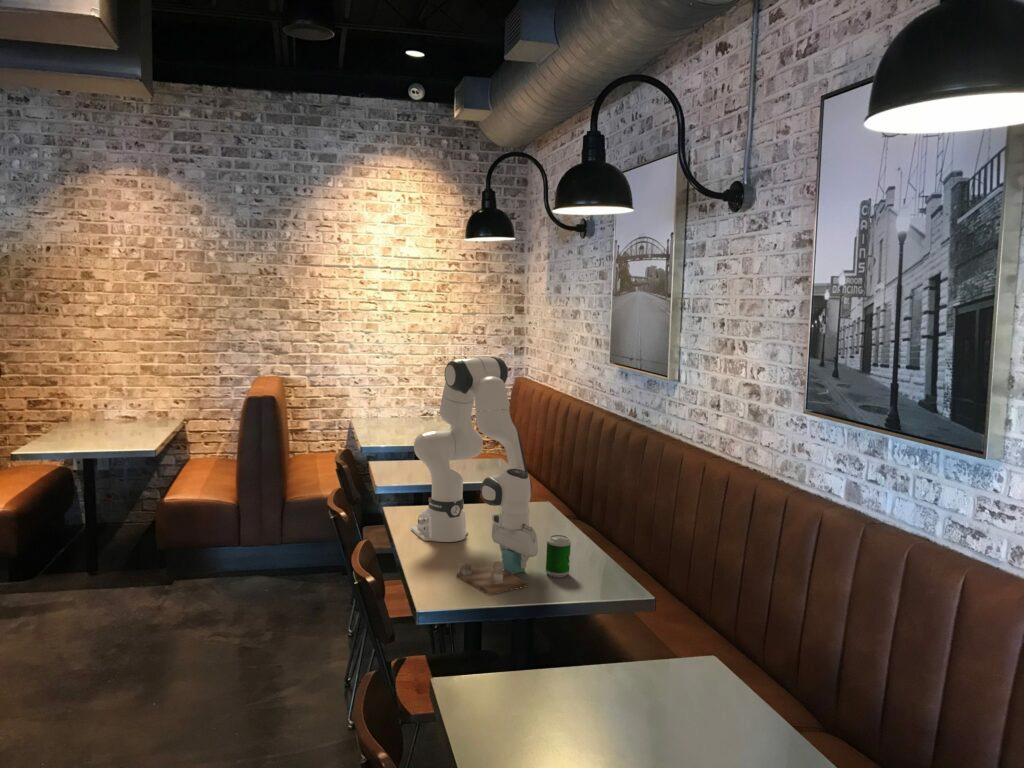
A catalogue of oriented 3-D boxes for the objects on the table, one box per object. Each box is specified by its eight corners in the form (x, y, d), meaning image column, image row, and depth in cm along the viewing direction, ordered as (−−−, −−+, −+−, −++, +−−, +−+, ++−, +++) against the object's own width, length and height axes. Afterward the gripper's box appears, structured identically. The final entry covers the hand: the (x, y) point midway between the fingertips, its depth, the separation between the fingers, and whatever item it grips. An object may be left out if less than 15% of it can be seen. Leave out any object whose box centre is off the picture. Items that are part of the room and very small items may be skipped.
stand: (456, 576, 250) (457, 553, 249) (493, 569, 259) (494, 547, 258) (489, 594, 236) (490, 571, 235) (527, 586, 244) (528, 563, 243)
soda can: (567, 579, 252) (569, 542, 251) (543, 576, 253) (545, 539, 252) (570, 571, 259) (572, 535, 258) (547, 569, 261) (549, 533, 259)
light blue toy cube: (501, 569, 259) (502, 549, 258) (514, 566, 262) (515, 546, 261) (511, 574, 255) (512, 553, 254) (524, 571, 258) (525, 551, 257)
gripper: (543, 527, 250) (541, 570, 252) (504, 512, 266) (503, 552, 268) (527, 530, 246) (525, 574, 248) (489, 514, 263) (487, 555, 264)
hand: (513, 562), depth 258 cm, fingers open, 8 cm apart
